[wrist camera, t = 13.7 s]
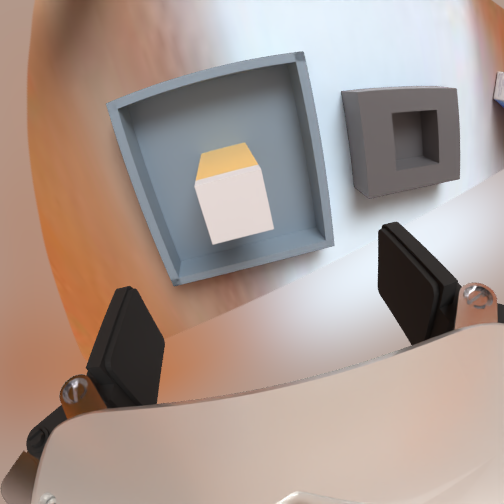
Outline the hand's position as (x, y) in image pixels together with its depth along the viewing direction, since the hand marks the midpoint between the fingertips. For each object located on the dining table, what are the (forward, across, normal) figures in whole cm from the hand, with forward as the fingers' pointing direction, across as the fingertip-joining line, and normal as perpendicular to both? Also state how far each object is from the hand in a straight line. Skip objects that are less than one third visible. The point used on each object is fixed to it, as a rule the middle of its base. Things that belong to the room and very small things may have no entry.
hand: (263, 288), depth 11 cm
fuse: (+18, +1, 0) cm, 18 cm away
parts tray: (+19, +1, 0) cm, 19 cm away
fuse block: (+19, -17, 0) cm, 26 cm away
